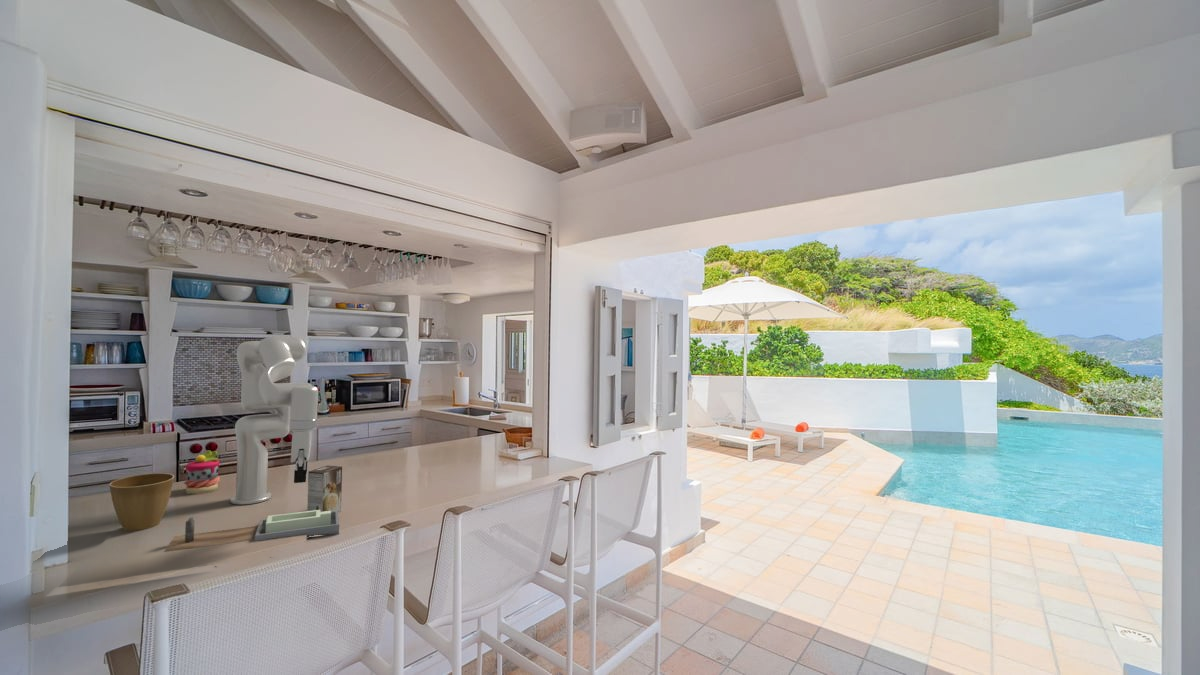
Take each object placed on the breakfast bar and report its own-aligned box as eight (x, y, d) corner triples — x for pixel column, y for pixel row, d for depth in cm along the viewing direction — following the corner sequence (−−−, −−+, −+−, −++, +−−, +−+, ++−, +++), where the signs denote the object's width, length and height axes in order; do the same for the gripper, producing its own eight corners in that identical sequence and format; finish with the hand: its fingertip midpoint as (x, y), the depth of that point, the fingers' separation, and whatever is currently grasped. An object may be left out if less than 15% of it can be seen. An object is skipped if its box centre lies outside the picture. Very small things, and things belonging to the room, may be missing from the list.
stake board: (174, 541, 148) (175, 514, 148) (255, 530, 158) (256, 505, 158) (163, 557, 138) (164, 528, 138) (251, 545, 147) (252, 518, 147)
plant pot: (112, 527, 157) (114, 476, 157) (174, 519, 165) (176, 470, 166) (102, 544, 145) (104, 489, 145) (169, 533, 153) (171, 482, 154)
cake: (209, 494, 192) (211, 455, 192) (178, 495, 189) (179, 455, 189) (224, 486, 202) (225, 449, 202) (194, 487, 200) (195, 449, 200)
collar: (267, 530, 157) (268, 515, 157) (330, 521, 166) (330, 508, 166) (265, 538, 151) (265, 523, 151) (330, 529, 159) (331, 515, 159)
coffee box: (326, 509, 179) (327, 464, 179) (341, 511, 178) (343, 466, 178) (306, 518, 170) (307, 471, 170) (322, 520, 169) (324, 472, 169)
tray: (260, 529, 159) (260, 519, 159) (337, 519, 170) (338, 510, 170) (254, 545, 147) (255, 535, 147) (338, 533, 158) (339, 524, 158)
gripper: (290, 420, 165) (288, 471, 165) (287, 430, 149) (284, 487, 150) (317, 419, 168) (314, 469, 168) (316, 429, 153) (313, 484, 153)
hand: (300, 477), depth 159 cm, fingers open, 9 cm apart
